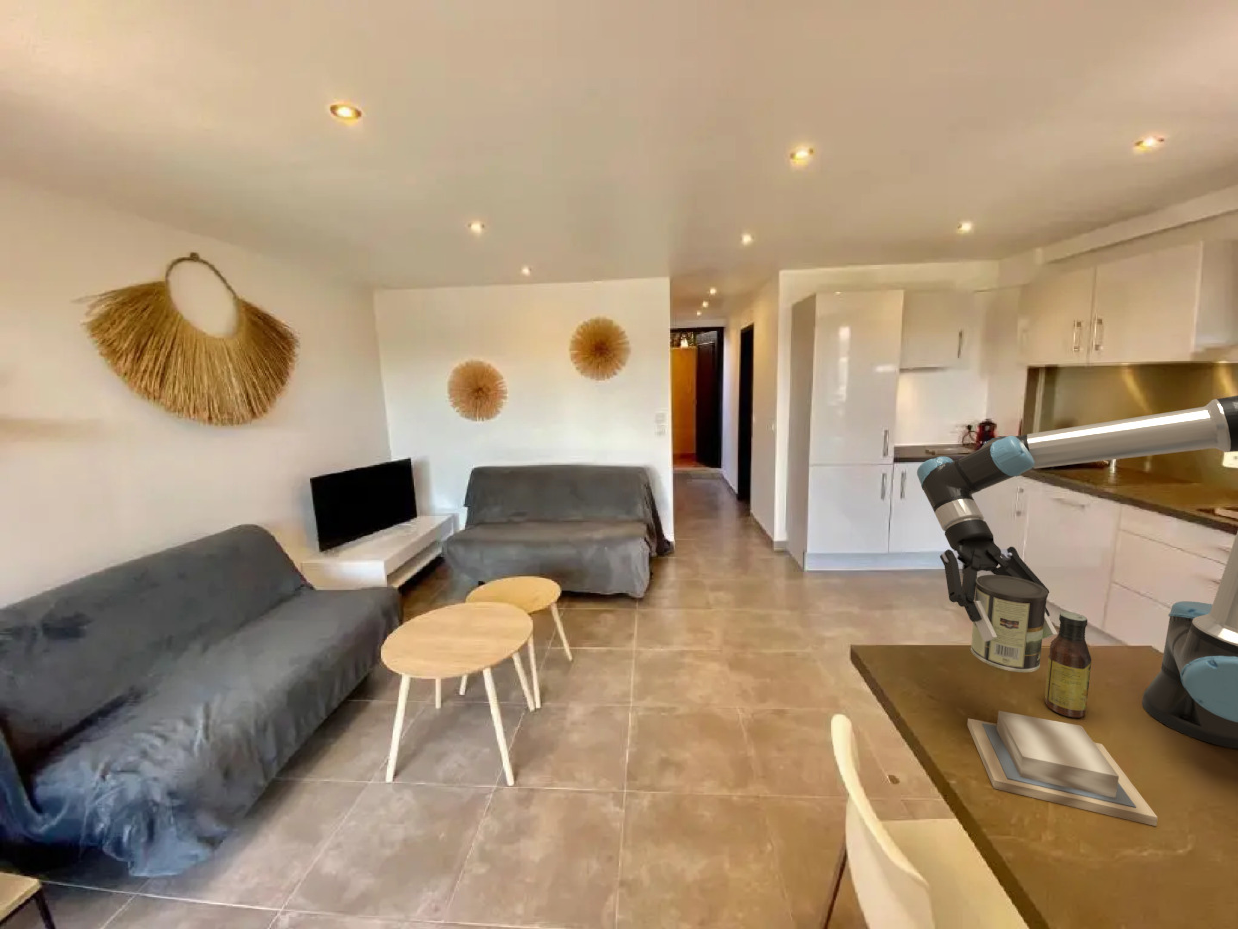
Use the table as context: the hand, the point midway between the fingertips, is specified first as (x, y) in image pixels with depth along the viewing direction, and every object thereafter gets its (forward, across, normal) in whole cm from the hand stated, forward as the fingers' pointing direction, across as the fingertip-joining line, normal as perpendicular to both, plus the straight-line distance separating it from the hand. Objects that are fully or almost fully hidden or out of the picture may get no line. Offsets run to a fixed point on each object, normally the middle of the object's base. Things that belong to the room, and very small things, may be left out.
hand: (1020, 637), depth 87 cm
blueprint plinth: (+19, -2, -10) cm, 22 cm away
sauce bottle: (+9, -18, -21) cm, 29 cm away
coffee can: (+2, 0, -6) cm, 6 cm away
